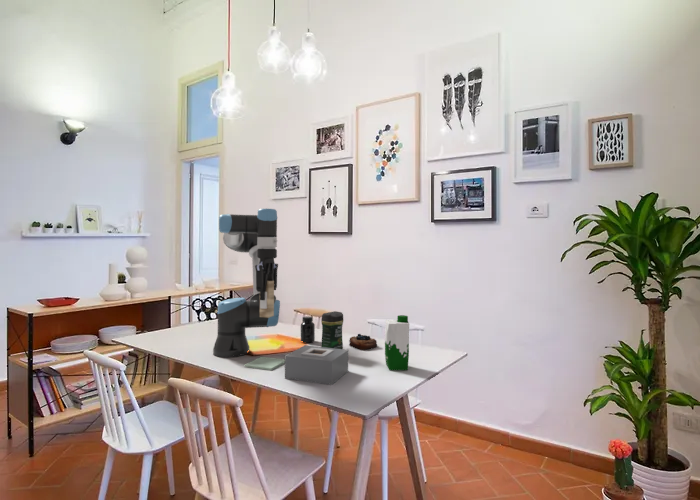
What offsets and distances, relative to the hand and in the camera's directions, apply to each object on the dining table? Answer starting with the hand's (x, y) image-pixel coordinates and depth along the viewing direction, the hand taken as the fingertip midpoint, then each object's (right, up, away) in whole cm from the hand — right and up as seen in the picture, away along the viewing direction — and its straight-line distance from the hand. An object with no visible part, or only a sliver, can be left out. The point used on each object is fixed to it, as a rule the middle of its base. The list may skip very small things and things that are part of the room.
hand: (266, 307), depth 160 cm
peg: (0, -4, 0) cm, 4 cm away
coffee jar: (+25, -23, +14) cm, 37 cm away
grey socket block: (+21, -23, -12) cm, 33 cm away
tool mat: (0, -23, 0) cm, 23 cm away
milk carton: (+51, -23, -2) cm, 56 cm away
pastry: (+39, -23, +29) cm, 54 cm away
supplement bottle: (+12, -22, +37) cm, 45 cm away
